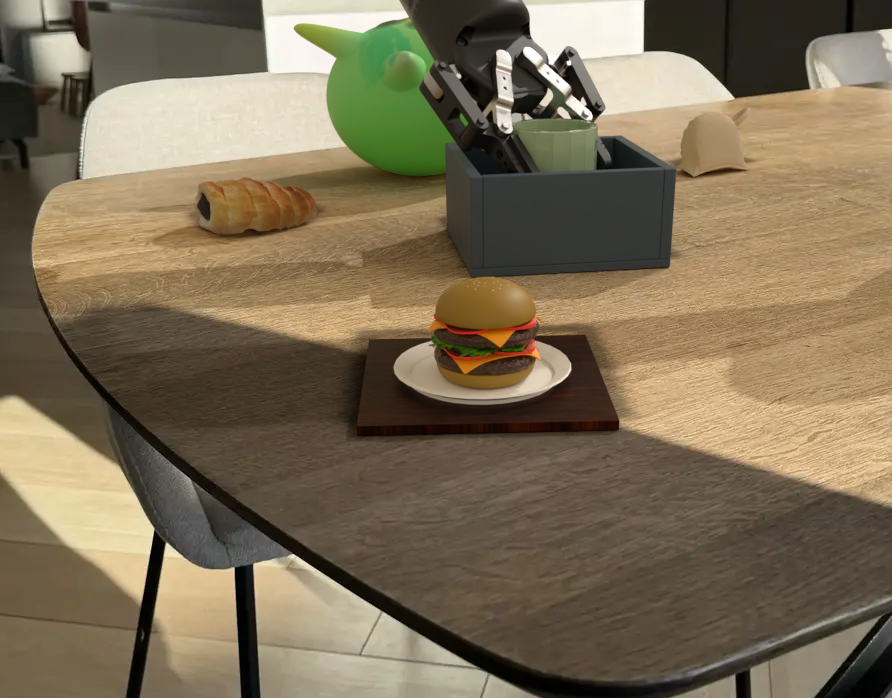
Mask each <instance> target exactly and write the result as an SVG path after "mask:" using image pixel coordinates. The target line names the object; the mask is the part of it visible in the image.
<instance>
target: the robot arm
mask: <svg viewBox="0 0 892 698" xmlns="http://www.w3.org/2000/svg"><path fill="white" fill-rule="evenodd" d="M398 1H399V2H400V5H401V6H402V8H403V10H404V12H405V13H406V15H407V17H409V18H410V20H411V21H412V23H413V25H414V27H415V28H416V30H417V32H418V34H419V35H420V37H421V39H422V40H423V42H424V44H425V45H426V47H427V49H428V51H429V52H430V54H431V56H432V57H433V59H434V63H433V64H432V66H431V68H430V69H429V71H428V73H427V74H426V76H425V77H424V79H423V81H422V82H421V84H420V85H419V90H420V91H421V93H422V94H423V96H424V97H425V99H426V100H427V102H428V103H429V105H430V106H431V107H432V109H433V110H434V112H435V113H436V115H437V116H438V118H439V119H440V120H441V122H442V123H443V125H444V126H445V128H446V129H447V131H448V132H449V133H450V135H451V136H452V138H453V139H454V141H455V142H456V144H457V145H458V146H459V148H460V149H462V150H463V151H467V152H468V151H471V150H472V148H473V147H474V148H479V149H482V151H483V152H484V153H485V154H487V155H489V156H492V157H493V159H494V161H495V163H496V164H497V166H498V168H499V169H500V171H501V172H502V174H515V173H538V172H540V171H539V169H538V167H537V166H536V164H535V162H534V161H533V159H532V157H531V156H530V154H529V152H528V151H527V149H526V147H525V146H524V144H523V142H522V141H521V139H520V138H519V136H518V134H516V135H511V133H512V131H513V125H512V122H513V117H512V116H513V114H521V115H527V116H528V117H530V119H545V118H562V119H565V118H564V117H563V116H562V115H561V114H560V113H559V112H558V111H559V110H558V109H559V108H561V109H563V110H565V112H567V113H568V116H569V117H570V118H569V119H577V120H585V121H590V122H594V123H595V122H596V121H597V119H598V118H599V117H600V116H601V115H602V114H603V113H604V111H606V104H605V102H604V100H603V98H602V96H601V94H600V92H599V90H598V88H597V87H596V85H595V83H594V81H593V79H592V77H591V75H590V73H589V72H588V69H587V67H586V66H585V64H584V62H583V59H582V58H581V56H580V54H579V52H578V51H577V50H576V48H574V47H573V46H570V45H567V46H565V47H564V49H562V51H561V53H559V54H558V53H557V54H555V53H553V54H551V53H547V52H546V51H545V49H544V48H543V47H541V46H540V45H539V44H538V43H537V42H535V40H534V38H532V35H531V15H530V12H529V9H528V8H527V5H526V4H525V3H524V1H523V0H398ZM548 90H550V91H551V93H552V98H551V100H550V101H549V102H548V103H547V105H542V104H541V103H542V101H543V100H544V98H545V97H546V96H547V93H548V92H549V91H548ZM582 99H583V100H584V102H585V103H586V104H585V105H584V104H582ZM461 113H462V115H463V116H464V118H465V119H466V121H467V122H468V125H467V126H466V127H465V125H464V124H463V122H462V121H461V119H460V114H461ZM599 136H600V135H598V136H597V162H596V170H608V169H611V167H612V161H611V157H610V154H609V152H608V151H607V149H605V146H604V144H603V143H602V141H601V139H600V138H599Z"/></svg>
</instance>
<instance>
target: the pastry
mask: <svg viewBox="0 0 892 698" xmlns="http://www.w3.org/2000/svg"><path fill="white" fill-rule="evenodd" d="M194 201H195V202H194V214H195V216H196V218H197V219H198V225H199V227H201V228H202V229H203V230H207V231H208V230H209V231H210V232H212V233H214V234H216V235H217V234H218V235H220V234H222V235H226V236H231V235H234V234H243V233H244V231H246V230H250V229H252V230H255V231H256V232H268V231H269V232H270V231H271V230H273V229H278V230H279V231H282V229H284V228H287V229H290V228H292V227H299V226H300V225H301V224H304V223H306V222H307V221H309V220H311V219H312V220H313V219H315V217H316V216H317V214H318V210H317V203H316V201H315V199H314V198H313V196H312V195H311V193H310V192H308V191H306V190H305V189H303V188H301V187H299V186H296V185H287V186H281V185H280V184H279V183H277V182H276V181H270V180H260V179H259V180H255V179H253V178H250V177H244V176H243V177H241V178H239V179H225V180H219V181H216V182H214V181H213V180H212V181H211V180H210V181H209V180H207V181H203V182H201V183H199V184H198V187H197V195H196V196H195V200H194Z"/></svg>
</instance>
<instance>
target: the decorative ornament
mask: <svg viewBox="0 0 892 698" xmlns="http://www.w3.org/2000/svg"><path fill="white" fill-rule="evenodd" d="M751 112H752V111H751V108H750V107H744V108H742V109H740V110H739V111H737V112H736V113H735V114H734V115H733V116H732V117H730V116H728V115H727V114H726V113H725V114H724V113H723V112H719V111H708V112H704V113H701V114H699V115H696V116H695V117H694V118H692V119H691V120H689V121H688V124H687V126H686V127H685V128H684V129H683V132H682V138H681V142H680V153H679V154H680V156H681V162H680V164H677V167H678V169H681V170H683V171H684V172H686V173H688V174H689V175H691V176H692V177H693V178H695V177H697V176H699V175H702V174H705V173H707V172H709V173H711V172H717V171H721V170H725V169H730V168H732V169H733V168H735V169H737V168H739V169H743V170H750V168H749V166H748V165H747V163H746V162H745V156H744V147H743V140H742V136H741V133H740V130H739V126H740V125H741V124H742V123H743V122H744V121H745V120H746V119H747V118H748V116H749V115H750V114H751Z"/></svg>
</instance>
